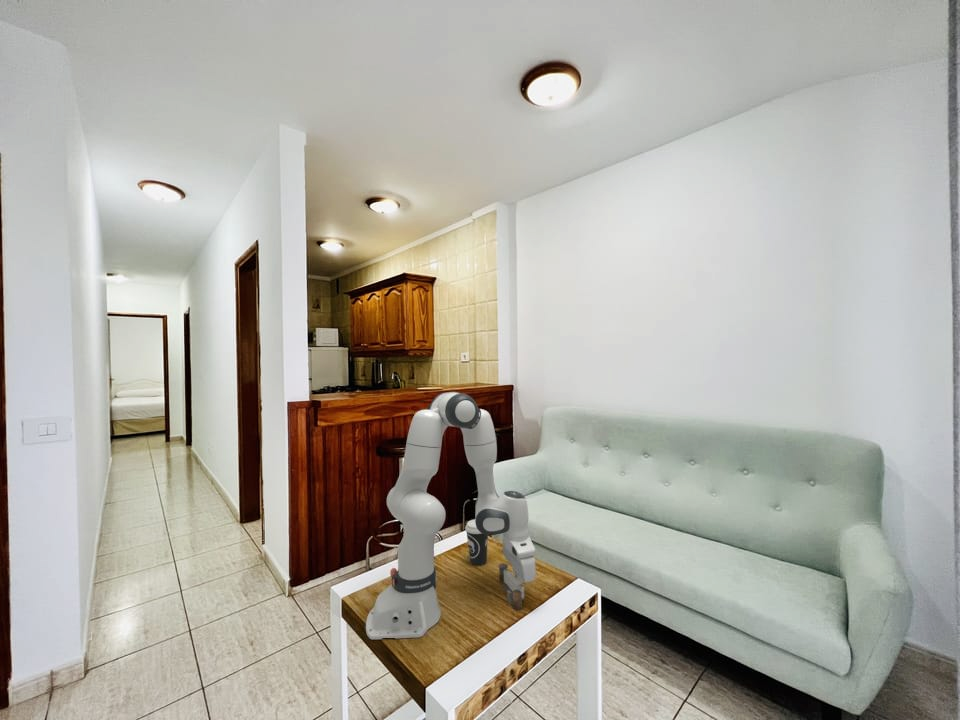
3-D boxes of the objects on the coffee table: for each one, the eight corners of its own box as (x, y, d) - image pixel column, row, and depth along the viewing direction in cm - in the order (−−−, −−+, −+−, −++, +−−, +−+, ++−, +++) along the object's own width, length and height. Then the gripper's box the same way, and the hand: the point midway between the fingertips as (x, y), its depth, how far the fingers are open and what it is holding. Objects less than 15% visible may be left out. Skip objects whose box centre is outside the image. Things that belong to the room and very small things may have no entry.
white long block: (503, 580, 134) (503, 569, 134) (507, 579, 134) (507, 568, 134) (519, 600, 122) (519, 587, 123) (524, 598, 123) (523, 586, 123)
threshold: (510, 600, 124) (510, 599, 124) (502, 585, 133) (502, 584, 133) (517, 599, 124) (517, 598, 124) (509, 584, 133) (509, 583, 133)
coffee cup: (488, 568, 143) (486, 529, 144) (463, 567, 145) (462, 527, 146) (492, 556, 153) (491, 518, 153) (469, 554, 155) (468, 517, 155)
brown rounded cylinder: (512, 611, 118) (511, 596, 118) (507, 601, 124) (507, 586, 124) (523, 609, 119) (522, 594, 119) (517, 599, 124) (517, 584, 124)
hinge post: (500, 583, 134) (499, 568, 134) (497, 578, 137) (497, 564, 137) (509, 581, 134) (509, 567, 135) (506, 576, 138) (506, 562, 138)
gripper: (497, 529, 138) (499, 568, 137) (519, 556, 118) (522, 600, 118) (513, 526, 140) (515, 564, 139) (538, 552, 120) (540, 596, 120)
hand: (518, 581), depth 129 cm, fingers closed
